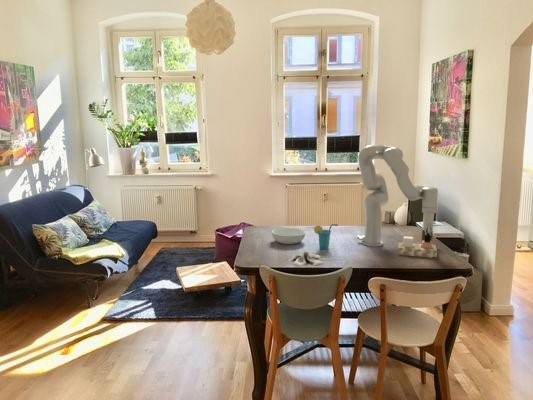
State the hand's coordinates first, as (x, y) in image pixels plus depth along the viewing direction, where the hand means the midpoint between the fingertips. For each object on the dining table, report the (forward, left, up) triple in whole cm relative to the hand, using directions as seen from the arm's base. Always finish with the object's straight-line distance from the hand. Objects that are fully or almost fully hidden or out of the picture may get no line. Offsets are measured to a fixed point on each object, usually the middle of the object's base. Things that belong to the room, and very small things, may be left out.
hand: (427, 241), depth 236 cm
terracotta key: (0, 0, -6) cm, 6 cm away
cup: (-56, -6, -7) cm, 57 cm away
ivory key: (-10, 0, -5) cm, 11 cm away
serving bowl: (-80, +2, -8) cm, 81 cm away
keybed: (-5, 0, -7) cm, 9 cm away
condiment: (+1, +19, -8) cm, 20 cm away
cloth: (-64, -31, -8) cm, 72 cm away
